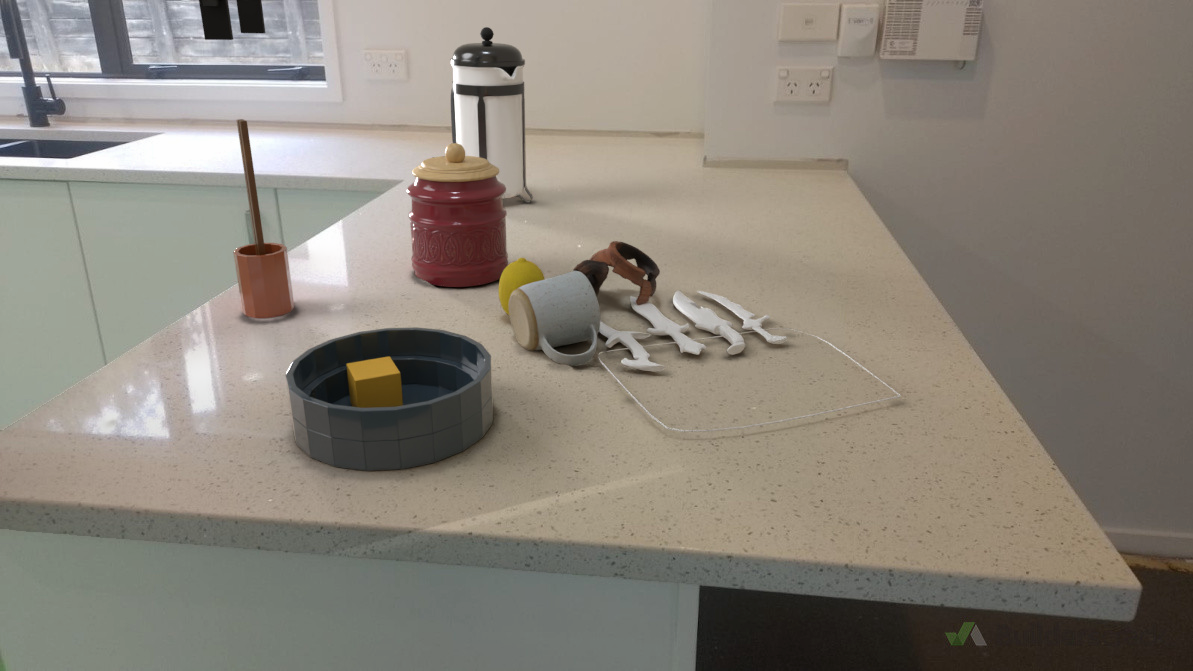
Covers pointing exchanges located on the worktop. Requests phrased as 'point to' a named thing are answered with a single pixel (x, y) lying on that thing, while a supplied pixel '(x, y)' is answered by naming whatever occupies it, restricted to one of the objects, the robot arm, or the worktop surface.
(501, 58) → the coffee press
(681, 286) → the worktop surface
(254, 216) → the chopsticks
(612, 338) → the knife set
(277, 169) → the worktop surface
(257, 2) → the robot arm
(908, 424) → the worktop surface
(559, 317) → the ceramic mug
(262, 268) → the holder
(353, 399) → the block
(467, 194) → the kitchen canister
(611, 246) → the broken clay pot
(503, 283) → the lemon
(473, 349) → the bowl
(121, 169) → the worktop surface
